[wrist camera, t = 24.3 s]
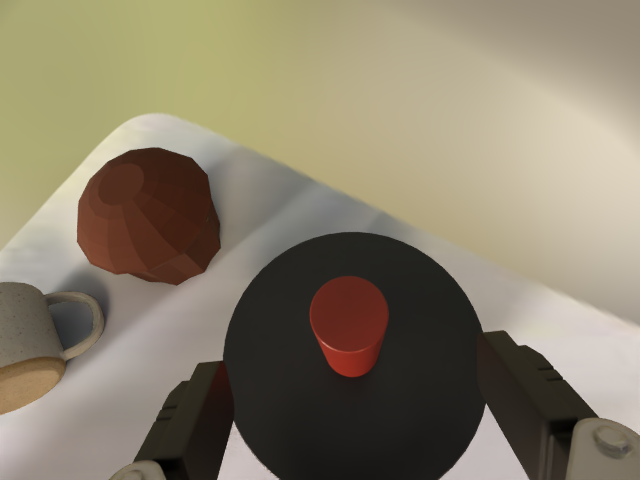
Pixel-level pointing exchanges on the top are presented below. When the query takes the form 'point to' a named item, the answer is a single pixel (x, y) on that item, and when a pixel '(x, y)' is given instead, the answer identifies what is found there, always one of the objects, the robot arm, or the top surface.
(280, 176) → the top surface
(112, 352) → the top surface
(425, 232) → the top surface
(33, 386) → the ceramic mug
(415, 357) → the lid
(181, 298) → the top surface
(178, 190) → the muffin
